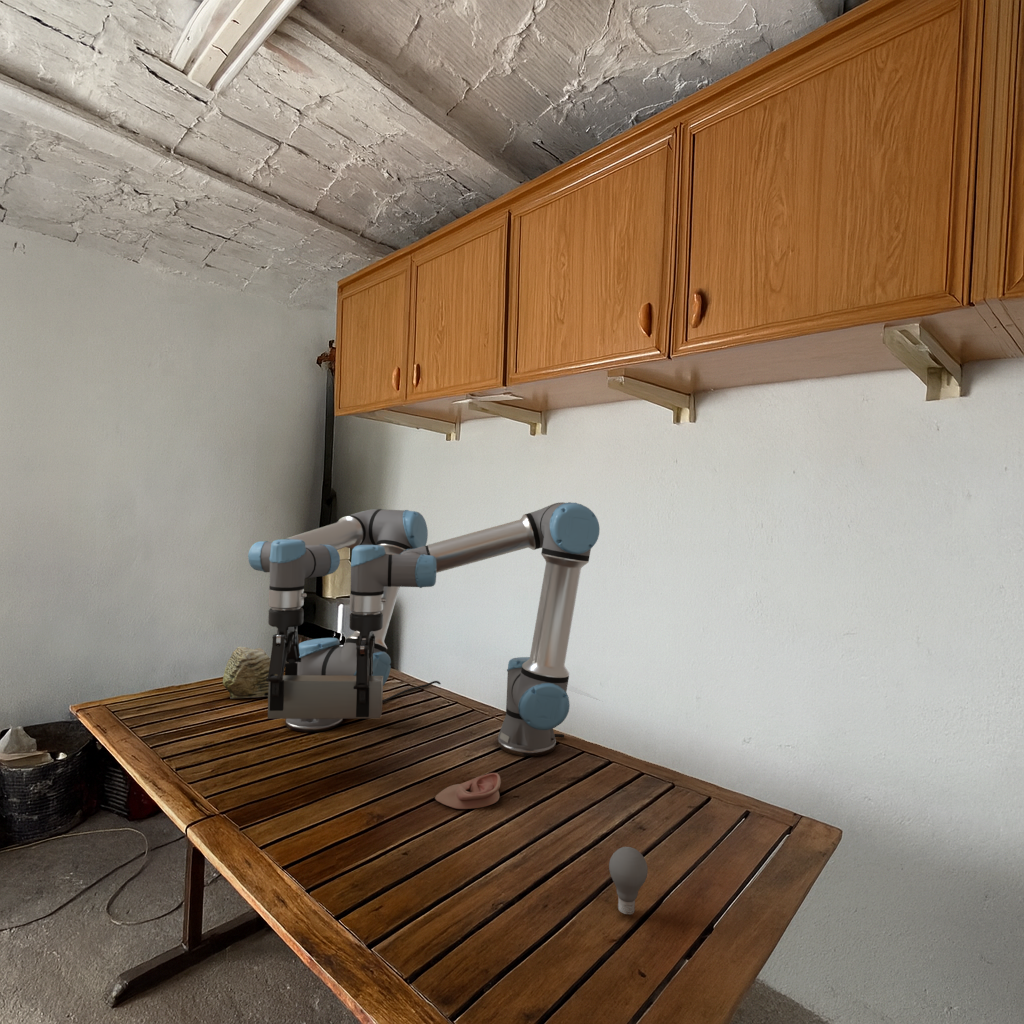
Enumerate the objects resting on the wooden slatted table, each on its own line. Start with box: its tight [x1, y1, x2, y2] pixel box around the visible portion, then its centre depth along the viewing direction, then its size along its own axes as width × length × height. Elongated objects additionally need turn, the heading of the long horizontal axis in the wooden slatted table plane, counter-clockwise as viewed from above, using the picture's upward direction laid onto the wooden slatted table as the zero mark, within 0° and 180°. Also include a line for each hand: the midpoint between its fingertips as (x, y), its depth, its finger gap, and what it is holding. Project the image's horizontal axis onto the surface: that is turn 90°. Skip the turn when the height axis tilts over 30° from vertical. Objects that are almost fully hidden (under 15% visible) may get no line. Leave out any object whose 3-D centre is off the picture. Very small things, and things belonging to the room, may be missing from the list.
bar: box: [267, 674, 384, 720], centre depth 145 cm, size 25×4×9 cm, turn 96°
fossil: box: [222, 646, 277, 699], centre depth 198 cm, size 9×18×15 cm, turn 132°
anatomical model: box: [434, 772, 502, 810], centre depth 136 cm, size 13×4×12 cm
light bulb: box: [608, 846, 649, 915], centre depth 100 cm, size 6×6×10 cm
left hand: (283, 700), depth 145 cm, fingers open, 13 cm apart
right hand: (363, 712), depth 146 cm, fingers closed on bar, 4 cm apart
